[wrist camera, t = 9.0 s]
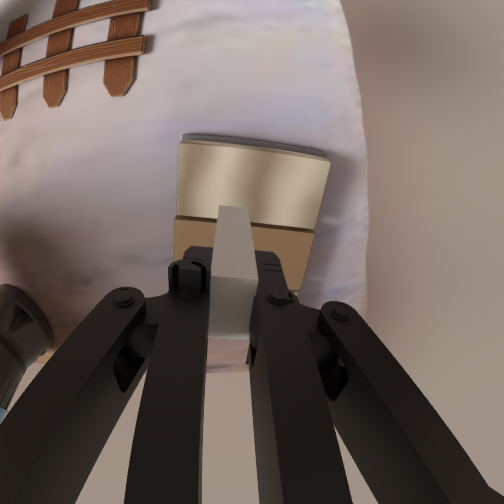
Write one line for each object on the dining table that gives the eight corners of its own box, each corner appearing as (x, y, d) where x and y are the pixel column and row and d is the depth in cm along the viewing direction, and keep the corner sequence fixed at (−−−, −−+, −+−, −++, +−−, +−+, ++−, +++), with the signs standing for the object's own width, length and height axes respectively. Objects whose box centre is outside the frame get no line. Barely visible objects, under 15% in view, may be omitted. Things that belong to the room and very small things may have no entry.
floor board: (180, 312, 37) (176, 330, 34) (185, 133, 26) (178, 137, 23) (282, 321, 38) (285, 339, 35) (321, 150, 27) (332, 156, 24)
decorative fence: (9, 26, 15) (0, 122, 22) (2, 25, 14) (-8, 124, 21) (159, -23, 17) (144, 94, 24) (155, -29, 15) (138, 94, 23)
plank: (180, 206, 28) (176, 214, 26) (183, 139, 24) (179, 143, 23) (309, 220, 29) (314, 229, 28) (325, 157, 26) (330, 162, 24)
